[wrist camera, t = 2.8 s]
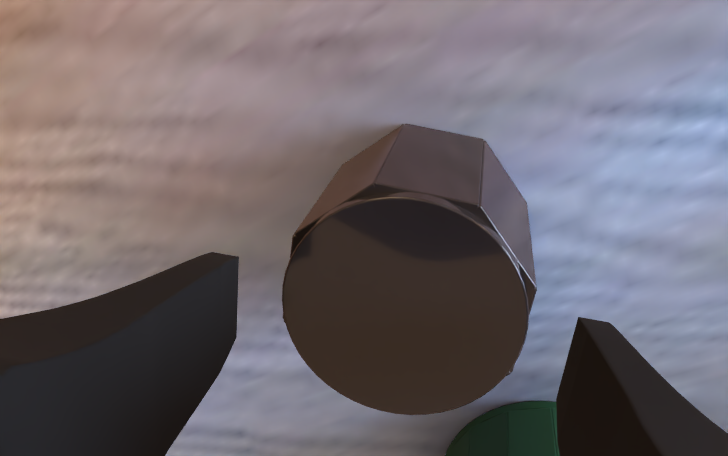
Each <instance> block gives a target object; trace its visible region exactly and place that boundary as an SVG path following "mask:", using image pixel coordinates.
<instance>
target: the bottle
mask: <svg viewBox="0 0 728 456" xmlns="http://www.w3.org/2000/svg"><path fill="white" fill-rule="evenodd" d="M445 456H560V454H559V448H558V441H557V407H556V402H548V401H529V402H521V403H514V404H510V405H506V406H502V407H499V408H497V409H494V410H491V411H489V412H487V413H485V414H483V415H481V416H479V417H477V418H476V419H475V420H473V421H472V422H470V423H469V424H468V425H467V426H465V427H464V428H463V429H462V430H461V431H460V432H459V433H458V435H457V436H456V437H455V438H454V440H453V441H452V442H451V444H450V446H449V448H448V450H447V452H446V455H445Z"/></svg>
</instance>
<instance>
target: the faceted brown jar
mask: <svg viewBox="0 0 728 456" xmlns="http://www.w3.org/2000/svg"><path fill="white" fill-rule="evenodd" d="M536 291H537V287H536V279H535V270H534V261H533V253H532V244H531V235H530V227H529V218H528V209H527V203H526V201H525V200H524V198H523V197H522V195H521V194H520V192H519V191H518V189H517V188H516V186H515V185H514V183H513V182H512V180H511V179H510V177H509V176H508V174H507V173H506V171H505V170H504V168H503V167H502V165H501V164H500V162H499V161H498V159H497V158H496V156H495V155H494V153H493V152H492V150H491V149H490V147H489V145H488V144H487V142H486V141H485V140H484V141H483V139H480V138H475V137H470V136H465V135H460V134H455V133H450V132H445V131H440V130H435V129H430V128H425V127H420V126H415V125H410V124H405V125H404V124H403V125H401V126H400V127H398V128H396V129H395V130H393V131H392V132H390V133H389V134H387V135H386V136H384V137H383V138H381V139H380V140H378V141H377V142H375V143H374V144H372V145H371V146H369V147H368V148H366V149H365V150H363V151H362V152H360V153H359V154H357V155H356V156H354V157H353V158H351V159H350V160H348V161H347V162H345V163H344V164H342V166H341V167H340V169H339V170H338V171H337V173H336V174H335V176H334V177H333V179H332V180H331V181H330V183H329V184H328V186H327V187H326V189H325V190H324V191H323V193H322V194H321V196H320V197H319V199H318V200H317V202H316V203H315V204H314V206H313V207H312V209H311V210H310V212H309V213H308V214H307V216H306V217H305V219H304V220H303V222H302V223H301V224H300V226H299V227H298V229H297V230H296V232H295V233H294V235H293V237H292V246H291V254H290V260H289V263H288V266H287V269H286V272H285V276H284V281H283V290H282V304H283V319H284V322H285V323H286V326H287V329H288V332H289V334H290V337H291V339H292V342H293V343H294V345H295V347H296V349H297V351H298V353H299V354H300V355H301V357H302V358H303V360H304V361H305V362H306V364H307V365H308V366H309V367H310V368H311V370H312V371H313V372H314V373H315V374H316V375H317V376H318V377H319V378H320V379H321V380H323V381H324V382H325V383H326V384H327V385H328V386H330V387H331V388H333V389H334V390H336V391H337V392H338V393H340V394H342V395H344V396H345V397H347V398H349V399H351V400H353V401H355V402H357V403H360V404H362V405H364V406H367V407H370V408H373V409H377V410H380V411H384V412H390V413H395V414H406V415H426V414H434V413H441V412H445V411H449V410H453V409H456V408H459V407H461V406H464V405H466V404H469V403H471V402H473V401H474V400H476V399H478V398H480V397H482V396H483V395H485V394H486V393H487V392H489V391H490V390H491V389H493V388H494V387H495V386H496V385H497V384H498V383H499V382H500V381H501V380H502V379H503V378H504V377H505V376H507V375H509V374H510V373H511V372H512V371H513V368H514V365H515V362H516V360H517V359H518V357H519V355H520V353H521V350H522V348H523V345H524V342H525V339H526V334H527V330H528V320H529V314H530V311H531V308H532V304H533V301H534V298H535V294H536Z"/></svg>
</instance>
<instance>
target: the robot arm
mask: <svg viewBox="0 0 728 456" xmlns="http://www.w3.org/2000/svg"><path fill="white" fill-rule="evenodd" d="M238 263H239V257H237V256H231V255H225V254H220V253H214V252H211V253H207V254H204V255H201V256H199V257H196V258H194V259H191V260H189V261H186V262H184V263H181V264H179V265H177V266H174V267H172V268H170V269H167V270H165V271H163V272H160V273H158V274H156V275H153V276H151V277H148V278H146V279H144V280H141V281H138V282H136V283H133V284H130V285H128V286H125V287H122V288H120V289H117V290H114V291H112V292H109V293H106V294H103V295H100V296H97V297H94V298H91V299H88V300H84V301H81V302H77V303H73V304H70V305H66V306H62V307H58V308H54V309H50V310H45V311H40V312H35V313H30V314H24V315H19V316H14V317H9V318H3V319H0V456H165V454H166V453H167V451H168V450H169V448H170V447H171V445H172V444H173V442H174V441H175V439H176V438H177V436H178V435H179V433H180V432H181V430H182V429H183V427H184V426H185V424H186V423H187V421H188V420H189V418H190V417H191V415H192V414H193V412H194V411H195V410H196V408H197V407H198V405H199V404H200V402H201V401H202V399H203V398H204V396H205V395H206V393H207V392H208V390H209V389H210V387H211V386H212V384H213V383H214V381H215V379H216V378H217V376H218V375H219V373H220V371H221V369H222V367H223V365H224V363H225V361H226V359H227V357H228V355H229V352H230V350H231V348H232V346H233V343H234V341H235V339H236V331H237V297H238ZM556 407H557V441H558V448H559V454H560V456H728V433H726V432H725V431H724V430H722V429H721V428H720V427H718V426H717V425H716V424H714V423H713V422H712V421H711V420H709V419H708V418H707V417H706V416H704V415H703V414H702V413H701V412H700V411H699V410H697V409H696V408H695V407H694V406H693V405H692V404H691V403H690V402H688V401H687V400H686V399H685V398H684V397H683V396H682V395H681V394H680V393H678V392H677V391H676V390H675V389H674V388H673V387H672V386H671V385H670V384H669V383H668V382H667V381H666V380H665V379H664V378H663V377H662V376H661V375H660V374H659V373H658V372H657V371H656V370H655V369H654V368H653V367H652V366H651V365H650V364H649V363H648V362H647V361H646V360H645V359H644V358H643V357H642V356H641V355H640V354H639V352H638V351H637V350H636V349H635V348H634V347H633V346H632V345H631V344H630V343H629V342H628V341H627V340H626V339H625V338H624V337H623V335H622V334H621V333H620V332H619V331H618V330H617V329H616V328H615V327H614V326H613V325H611V324H610V323H609V322H603V321H597V320H592V319H586V318H581V317H578V321H577V324H576V328H575V332H574V335H573V339H572V343H571V347H570V350H569V354H568V358H567V361H566V365H565V369H564V373H563V376H562V380H561V384H560V387H559V391H558V395H557V399H556Z"/></svg>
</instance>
